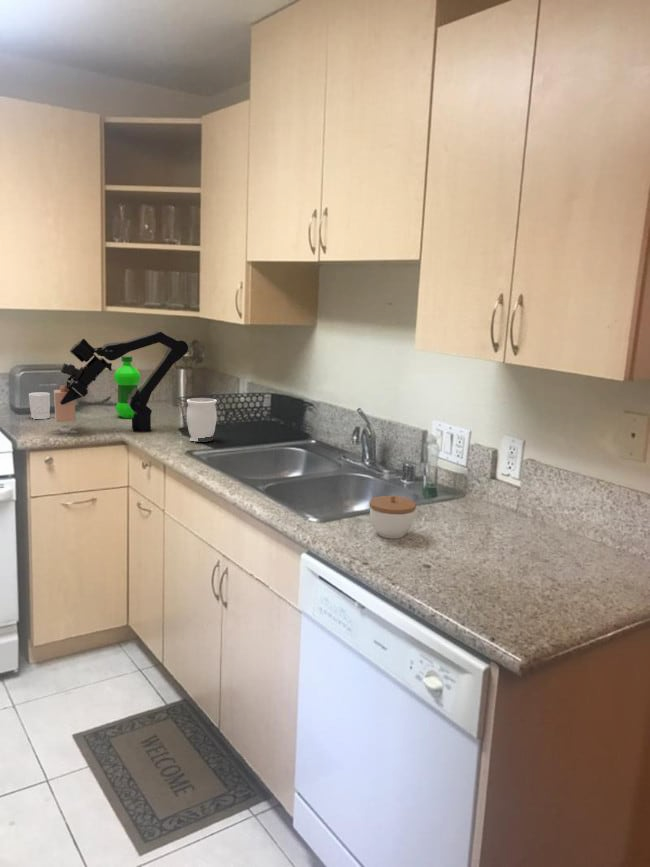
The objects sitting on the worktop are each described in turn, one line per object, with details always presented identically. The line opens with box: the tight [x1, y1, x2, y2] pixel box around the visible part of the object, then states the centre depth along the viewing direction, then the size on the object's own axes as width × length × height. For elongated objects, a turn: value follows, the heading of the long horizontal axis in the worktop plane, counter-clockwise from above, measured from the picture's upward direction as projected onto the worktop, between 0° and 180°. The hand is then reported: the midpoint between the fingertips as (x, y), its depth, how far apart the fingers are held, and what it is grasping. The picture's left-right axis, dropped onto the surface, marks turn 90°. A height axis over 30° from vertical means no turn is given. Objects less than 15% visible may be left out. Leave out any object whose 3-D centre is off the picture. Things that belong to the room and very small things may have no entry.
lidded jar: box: [369, 494, 417, 540], centre depth 163 cm, size 11×11×9 cm
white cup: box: [28, 391, 51, 420], centre depth 281 cm, size 8×8×10 cm
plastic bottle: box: [113, 355, 141, 419], centre depth 288 cm, size 10×10×25 cm
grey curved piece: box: [53, 429, 78, 436], centre depth 255 cm, size 8×8×1 cm
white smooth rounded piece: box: [59, 425, 72, 433], centre depth 255 cm, size 3×3×2 cm
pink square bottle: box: [53, 384, 76, 423], centre depth 253 cm, size 6×7×13 cm
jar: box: [186, 397, 218, 442], centre depth 251 cm, size 11×10×15 cm
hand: (60, 402), depth 252 cm, fingers closed on pink square bottle, 7 cm apart
